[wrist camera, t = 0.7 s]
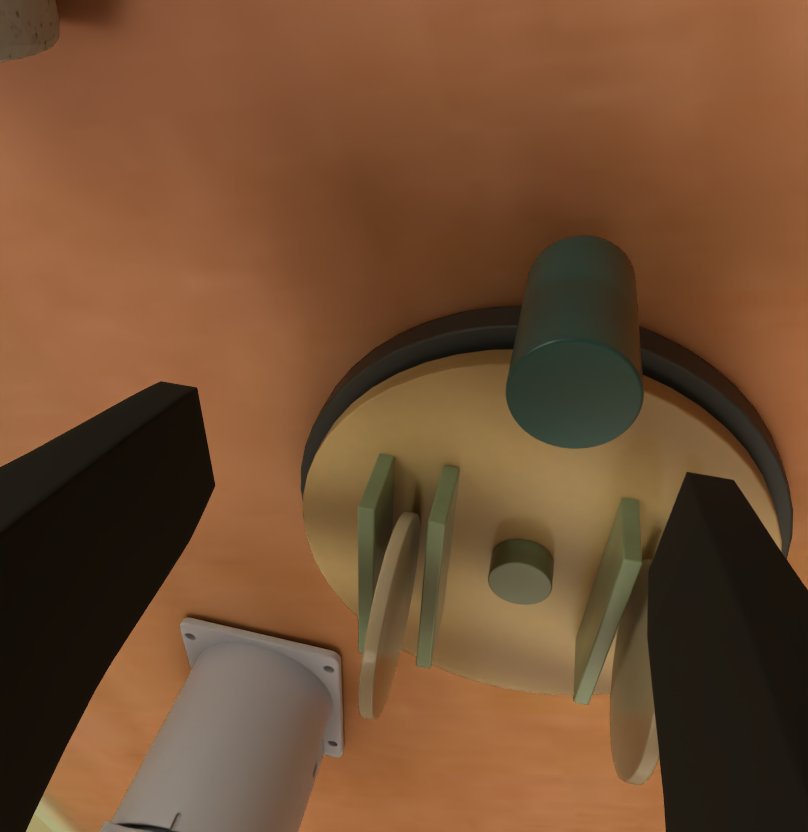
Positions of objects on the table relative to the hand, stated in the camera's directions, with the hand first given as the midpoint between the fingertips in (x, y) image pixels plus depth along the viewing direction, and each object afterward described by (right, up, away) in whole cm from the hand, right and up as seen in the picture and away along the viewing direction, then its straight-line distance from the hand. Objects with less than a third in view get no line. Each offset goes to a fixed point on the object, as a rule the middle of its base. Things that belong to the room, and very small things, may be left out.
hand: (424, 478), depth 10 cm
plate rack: (+4, -2, +12) cm, 12 cm away
